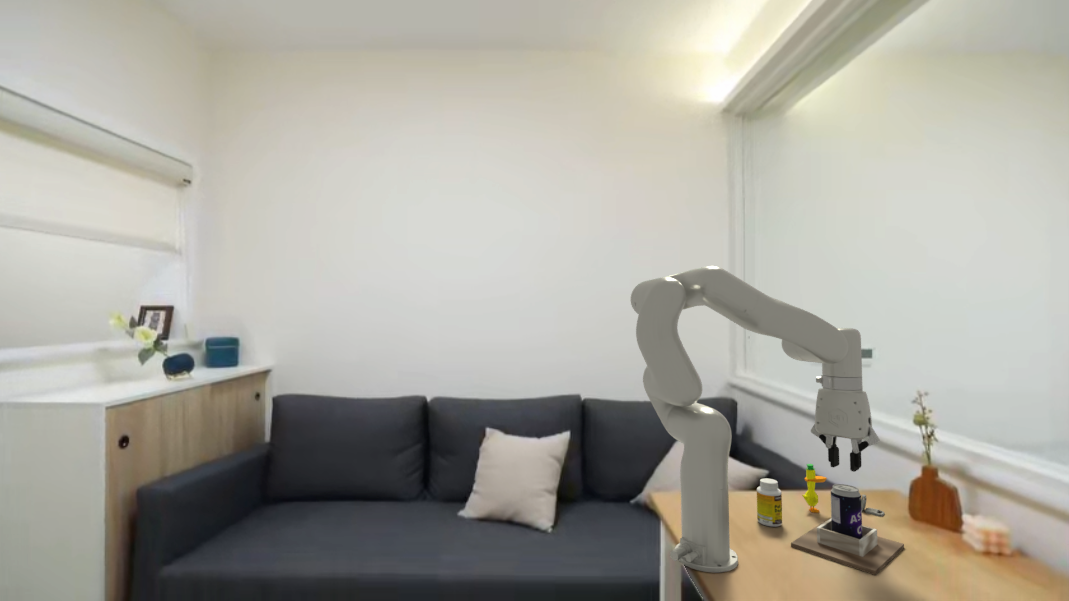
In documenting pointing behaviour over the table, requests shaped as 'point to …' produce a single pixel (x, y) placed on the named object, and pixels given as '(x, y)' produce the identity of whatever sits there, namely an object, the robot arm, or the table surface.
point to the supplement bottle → (769, 503)
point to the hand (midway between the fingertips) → (844, 467)
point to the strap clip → (870, 510)
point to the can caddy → (849, 547)
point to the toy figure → (812, 487)
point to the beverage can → (846, 510)
